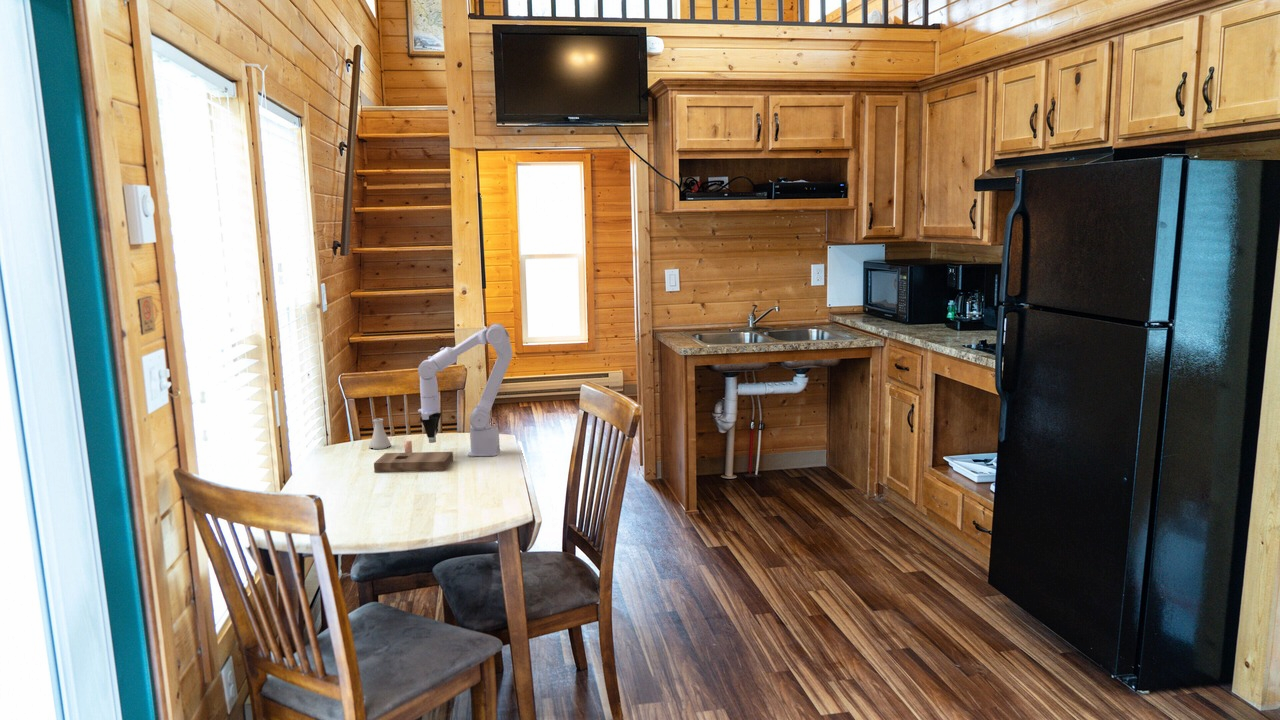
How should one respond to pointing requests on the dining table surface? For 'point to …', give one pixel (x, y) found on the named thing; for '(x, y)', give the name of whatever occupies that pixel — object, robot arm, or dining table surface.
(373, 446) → the flask
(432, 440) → the tall pin
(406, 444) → the short pin
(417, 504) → the dining table surface
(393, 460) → the hole board
